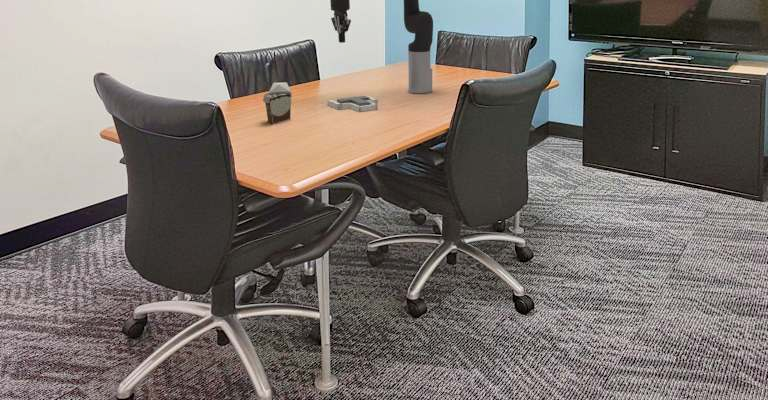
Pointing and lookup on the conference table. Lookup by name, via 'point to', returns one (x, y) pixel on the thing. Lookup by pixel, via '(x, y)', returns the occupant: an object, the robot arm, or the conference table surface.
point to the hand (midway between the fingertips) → (342, 42)
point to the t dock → (355, 107)
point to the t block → (355, 100)
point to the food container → (278, 106)
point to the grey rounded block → (280, 87)
